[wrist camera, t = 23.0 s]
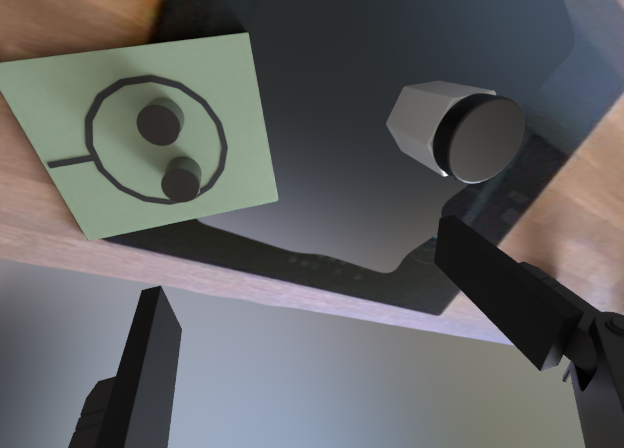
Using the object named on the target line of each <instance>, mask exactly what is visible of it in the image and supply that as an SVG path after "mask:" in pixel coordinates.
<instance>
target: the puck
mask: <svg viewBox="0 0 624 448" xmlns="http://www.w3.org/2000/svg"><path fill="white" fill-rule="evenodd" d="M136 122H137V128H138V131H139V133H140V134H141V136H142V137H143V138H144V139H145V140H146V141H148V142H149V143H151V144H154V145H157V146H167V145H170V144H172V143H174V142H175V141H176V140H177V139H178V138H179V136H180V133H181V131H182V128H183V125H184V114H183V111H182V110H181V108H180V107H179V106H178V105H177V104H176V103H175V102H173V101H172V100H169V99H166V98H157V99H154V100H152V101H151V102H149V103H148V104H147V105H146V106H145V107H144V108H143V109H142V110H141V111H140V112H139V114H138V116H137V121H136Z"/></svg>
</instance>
